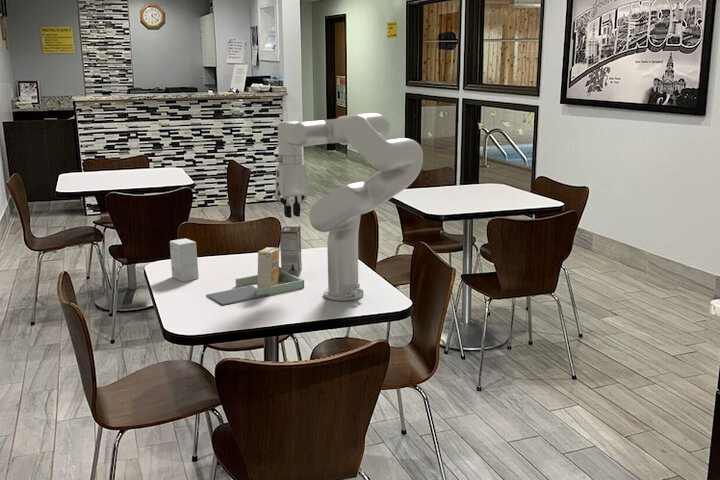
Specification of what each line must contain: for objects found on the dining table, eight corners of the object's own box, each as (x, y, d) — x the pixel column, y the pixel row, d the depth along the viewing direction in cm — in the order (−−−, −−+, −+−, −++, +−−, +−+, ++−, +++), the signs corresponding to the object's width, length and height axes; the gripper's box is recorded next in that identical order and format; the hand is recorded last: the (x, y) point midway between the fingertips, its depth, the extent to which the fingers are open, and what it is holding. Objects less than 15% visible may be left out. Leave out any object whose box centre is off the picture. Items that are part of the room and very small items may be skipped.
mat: (269, 295, 226) (268, 294, 226) (222, 305, 217) (222, 304, 217) (251, 287, 235) (251, 285, 235) (206, 296, 226) (206, 294, 226)
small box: (199, 278, 246) (196, 241, 243) (182, 282, 242) (179, 244, 239) (188, 273, 252) (186, 237, 249) (171, 277, 248) (168, 240, 245)
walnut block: (281, 282, 241) (281, 267, 240) (271, 284, 239) (270, 269, 238) (276, 279, 244) (275, 265, 243) (265, 281, 242) (265, 267, 241)
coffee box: (284, 270, 256) (282, 226, 252) (302, 269, 255) (300, 226, 252) (281, 277, 247) (279, 231, 243) (299, 277, 246) (298, 231, 243)
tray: (304, 287, 234) (303, 280, 234) (257, 297, 225) (257, 289, 224) (281, 277, 246) (280, 270, 246) (235, 286, 237) (235, 278, 236)
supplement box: (271, 292, 228) (271, 252, 225) (256, 291, 229) (257, 251, 226) (279, 286, 236) (280, 247, 233) (265, 285, 237) (266, 246, 234)
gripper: (274, 163, 221) (276, 221, 225) (318, 159, 230) (319, 215, 234) (262, 161, 227) (265, 218, 231) (305, 157, 236) (307, 212, 240)
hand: (292, 216), depth 233 cm, fingers open, 2 cm apart
